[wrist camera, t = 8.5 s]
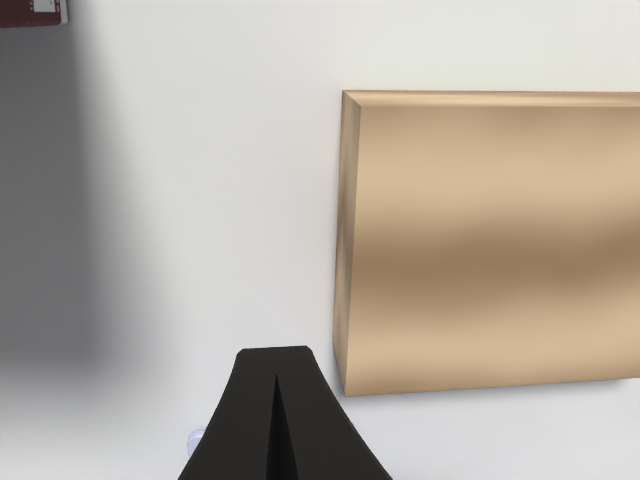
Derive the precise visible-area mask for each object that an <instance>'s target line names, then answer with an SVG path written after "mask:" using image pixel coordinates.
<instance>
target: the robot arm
mask: <svg viewBox="0 0 640 480" xmlns="http://www.w3.org/2000/svg"><path fill="white" fill-rule="evenodd" d="M188 452H189V461H188V463H187V464H186V466H185V468H184V469H183V471H182V473H181V475H180V476H179V478H178V480H393V479H392V478H391V477H390V475H389V474H388V473H387V472H386V470H385V469H384V468H383V466H382V465H381V464H380V462H379V461H378V460H377V458H376V457H375V456H374V454H373V453H372V452H371V450H370V449H369V448H368V446H367V445H366V443H365V442H364V440H363V439H362V438H361V436H360V435H359V433H358V432H357V430H356V429H355V427H354V424H353V423H352V422H351V421H350V420H349V418H348V417H347V415H346V413H345V412H344V410H343V409H342V407H341V406H340V404H339V402H338V401H337V399H336V397H335V396H334V394H333V392H332V391H331V389H330V387H329V385H328V383H327V382H326V380H325V378H324V376H323V374H322V372H321V370H320V368H319V366H318V364H317V362H316V360H315V357H314V355H313V352H312V350H311V349H310V348H309V347H307V346H288V347H269V348H250V349H242V350H241V351H240V352H239V353H238V354H237V356H236V360H235V364H234V367H233V370H232V373H231V375H230V378H229V381H228V383H227V386H226V388H225V390H224V392H223V395H222V397H221V399H220V402H219V404H218V406H217V408H216V410H215V412H214V414H213V416H212V418H211V420H210V422H209V424H208V426H207V428H206V430H202V431H195V432H193V433H191V434H190V436H189V439H188Z"/></svg>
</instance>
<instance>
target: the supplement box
mask: <svg viewBox="0 0 640 480" xmlns="http://www.w3.org/2000/svg"><path fill="white" fill-rule="evenodd" d="M67 23H68V15H67V6H66V0H0V28H12V27H33V26H50V25H64V24H67Z"/></svg>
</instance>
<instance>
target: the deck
mask: <svg viewBox="0 0 640 480" xmlns="http://www.w3.org/2000/svg"><path fill="white" fill-rule="evenodd" d="M333 345H334V350H335V354H336V359H337V363H338V367H339V372H340V376H341V381H342V385H343V389H344V394H345V397H349V396H364V395H380V394H395V393H411V392H426V391H441V390H457V389H472V388H487V387H503V386H518V385H534V384H549V383H564V382H580V381H595V380H611V379H626V378H640V92H528V91H385V90H343V93H342V119H341V145H340V170H339V196H338V221H337V247H336V273H335V298H334V324H333Z"/></svg>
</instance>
